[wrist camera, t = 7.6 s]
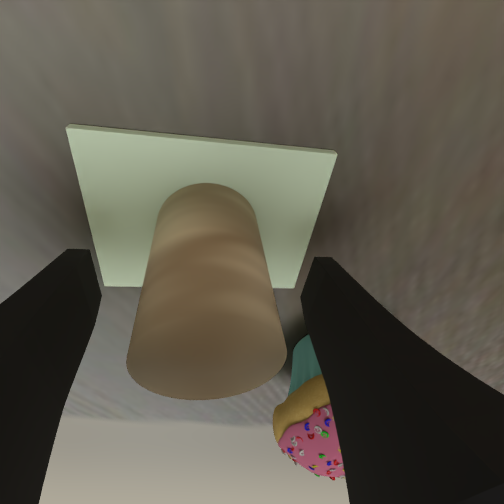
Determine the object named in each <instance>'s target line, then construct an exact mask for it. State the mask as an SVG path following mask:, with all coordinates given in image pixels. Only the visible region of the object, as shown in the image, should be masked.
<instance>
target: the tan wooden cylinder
mask: <svg viewBox="0 0 504 504" xmlns="http://www.w3.org/2000/svg"><path fill="white" fill-rule="evenodd" d="M286 357H287V349H286V344H285V340H284V335H283V331H282V327H281V322H280V318H279V314H278V310H277V305H276V301H275V297H274V292H273V288H272V284H271V280H270V275H269V271H268V267H267V262H266V258H265V254H264V250H263V245H262V241H261V237H260V232H259V228H258V224H257V219H256V215H255V212H254V210H253V208H252V206H251V204H250V203H249V202H248V200H247V199H246V198H245V197H244V196H242V195H241V194H240V193H238V192H237V191H235V190H233V189H231V188H229V187H226V186H223V185H220V184H214V183H199V184H193V185H189V186H186V187H184V188H181V189H179V190H178V191H176V192H175V193H173V194H172V195H171V196H170V197H168V198H167V199H166V201H165V202H164V203H163V205H162V207H161V208H160V211H159V214H158V218H157V222H156V227H155V231H154V236H153V240H152V245H151V250H150V254H149V259H148V263H147V268H146V272H145V277H144V281H143V286H142V291H141V295H140V300H139V304H138V309H137V313H136V318H135V322H134V327H133V331H132V336H131V341H130V345H129V350H128V354H127V360H126V364H127V369H128V372H129V374H130V375H131V377H132V378H133V379H134V380H135V381H136V382H137V383H138V384H139V385H141V386H142V387H144V388H145V389H147V390H149V391H152V392H154V393H156V394H160V395H163V396H167V397H171V398H177V399H186V400H210V399H219V398H225V397H230V396H234V395H238V394H241V393H244V392H247V391H250V390H252V389H255V388H257V387H259V386H261V385H263V384H264V383H266V382H267V381H269V380H270V379H271V378H273V377H274V376H275V375H276V374H277V373H278V372H279V371H280V370H281V368H282V367H283V365H284V363H285V361H286Z"/></svg>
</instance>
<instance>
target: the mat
mask: <svg viewBox="0 0 504 504" xmlns="http://www.w3.org/2000/svg"><path fill="white" fill-rule="evenodd" d="M66 132H67V136H68V140H69V144H70V148H71V152H72V156H73V160H74V164H75V168H76V172H77V176H78V180H79V184H80V189H81V193H82V197H83V201H84V205H85V209H86V213H87V217H88V221H89V225H90V229H91V233H92V237H93V241H94V245H95V250H96V254H97V258H98V262H99V266H100V270H101V274H102V278H103V282H104V286H128V287H142V286H143V281H144V277H145V272H146V268H147V263H148V259H149V254H150V250H151V245H152V240H153V236H154V231H155V227H156V222H157V218H158V214H159V211H160V208H161V207H162V205H163V203H164V202H165V201H166V199H167V198H168V197H170V196H171V195H172V194H173V193H175V192H176V191H178V190H179V189H181V188H184V187H186V186H189V185H193V184H199V183H214V184H220V185H223V186H226V187H229V188H231V189H233V190H235V191H237V192H238V193H240V194H241V195H242V196H244V197H245V198H246V199H247V200H248V202H249V203H250V204H251V206H252V208H253V210H254V212H255V215H256V219H257V224H258V228H259V232H260V237H261V241H262V245H263V250H264V254H265V258H266V262H267V267H268V271H269V275H270V280H271V284H272V288H294V286H295V283H296V280H297V277H298V274H299V271H300V268H301V265H302V262H303V259H304V256H305V253H306V250H307V247H308V244H309V241H310V238H311V234H312V231H313V228H314V225H315V222H316V219H317V216H318V213H319V210H320V207H321V204H322V201H323V198H324V195H325V192H326V189H327V186H328V183H329V179H330V176H331V173H332V170H333V167H334V164H335V161H336V158H337V155H338V154H337V153H336V152H335V151H334V150H327V149H317V148H307V147H297V146H287V145H277V144H267V143H257V142H247V141H237V140H227V139H217V138H207V137H197V136H187V135H177V134H167V133H157V132H147V131H137V130H127V129H117V128H107V127H97V126H87V125H77V124H69V125H68V126H67V127H66Z"/></svg>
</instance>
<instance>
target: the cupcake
mask: <svg viewBox="0 0 504 504" xmlns="http://www.w3.org/2000/svg"><path fill="white" fill-rule="evenodd" d="M273 431H274V435H275V439H276V441H277V443H278V445H279V447H280V448H281V450H282V453H283V454H284V455H286V453H287V454H288V456H289V457H290V459H292V458H293V459H292V460H293V461H294V462H295V465H296V466H297V465H298V463H299V464H300V465H301V466H303V467H304V468H306V469H307V470H309V471H311V472H313V473H314V474H315V475H316V476H318V477H319V476H320V475H322V476H329V477H330V478H331V477H332V478H331V479H332V480H335V477H339V478H345V472H344V466H343V461H342V455H341V450H340V445H339V441H338V436H337V431H336V426H335V421H334V417H333V412H332V408H331V404H330V399H329V395H328V392H327V388H326V385H325V381H324V378H323V375H322V372H321V369H320V366H319V363H318V360H317V357H316V354H315V351H314V348H313V345H312V342H311V339H310V336H309V334H308V335H306V336H305V337H304V338H302V339H301V340H300V341H299V342H298V343H297V345H296V346H295V348H294V350H293V362H292V376H291V384H290V389H289V393H288V397H287V399H286V400H285V402H284V403H282V404H279V405H278V406H277V407H276V408H275V410H274V414H273Z"/></svg>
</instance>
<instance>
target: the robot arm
mask: <svg viewBox="0 0 504 504" xmlns="http://www.w3.org/2000/svg"><path fill="white" fill-rule="evenodd" d="M101 297H102V295H101V291H100V287H99V284H98V280H97V276H96V272H95V268H94V264H93V261H92V257H91V253H90V250H85V249H67V250H66V251H65V252H63V253H62V254H61V255H60V256H58V257H57V258H56V259H55V260H54V261H52V262H51V263H50V264H49V265H48V266H46V267H45V268H44V269H43V270H42V271H40V272H39V273H38V274H37V275H36V276H34V277H33V278H32V279H31V280H30V281H28V282H27V283H26V284H25V285H24V286H22V287H21V288H20V289H19V290H17V291H16V292H15V293H14V294H12V295H11V296H10V297H9V298H7V299H6V300H5V301H4V302H2V303H1V304H0V504H39V500H40V496H41V491H42V486H43V482H44V479H45V475H46V471H47V467H48V463H49V459H50V455H51V451H52V447H53V444H54V440H55V437H56V433H57V429H58V426H59V422H60V418H61V415H62V411H63V408H64V405H65V402H66V399H67V397H68V394H69V391H70V389H71V386H72V383H73V381H74V378H75V376H76V373H77V370H78V368H79V365H80V363H81V360H82V358H83V355H84V352H85V350H86V347H87V345H88V342H89V339H90V337H91V334H92V331H93V329H94V326H95V322H96V318H97V314H98V310H99V306H100V301H101ZM300 298H301V303H302V309H303V314H304V319H305V324H306V327H307V330H308V333H309V336H310V339H311V342H312V345H313V348H314V351H315V354H316V357H317V360H318V363H319V366H320V369H321V372H322V375H323V378H324V381H325V385H326V388H327V392H328V395H329V399H330V404H331V408H332V412H333V417H334V421H335V426H336V431H337V436H338V441H339V445H340V450H341V455H342V461H343V466H344V472H345V478H346V483H347V489H348V495H349V502H350V504H504V395H503V394H502V393H500V392H498V391H497V390H495V389H493V388H492V387H490V386H489V385H487V384H485V383H484V382H482V381H481V380H479V379H477V378H476V377H474V376H473V375H471V374H470V373H468V372H467V371H465V370H464V369H462V368H461V367H459V366H458V365H456V364H455V363H453V362H452V361H451V360H449V359H448V358H446V357H445V356H443V355H442V354H441V353H439V352H438V351H437V350H435V349H434V348H433V347H431V346H430V345H429V344H427V343H426V342H425V341H423V340H422V339H421V338H419V337H418V336H417V335H416V334H414V333H413V332H412V331H411V330H409V329H408V328H407V327H406V326H405V325H403V324H402V323H401V322H400V321H399V320H398V319H396V318H395V317H394V316H393V315H392V314H391V313H389V312H388V311H387V310H386V309H385V308H384V307H383V306H382V305H381V304H380V303H378V302H377V301H376V300H375V299H374V298H373V297H372V296H371V295H370V294H369V293H368V292H367V291H366V290H365V289H364V288H363V287H362V286H361V285H360V284H359V283H358V282H357V281H356V280H354V279H353V278H352V277H351V276H350V275H349V274H348V273H347V272H346V271H345V270H344V269H343V268H342V267H341V266H340V265H339V264H338V263H337V262H336V261H335V260H334V259H333V258H332V257H314V260H313V263H312V266H311V268H310V271H309V274H308V277H307V280H306V282H305V285H304V288H303V291H302V294H301V296H300Z"/></svg>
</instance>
